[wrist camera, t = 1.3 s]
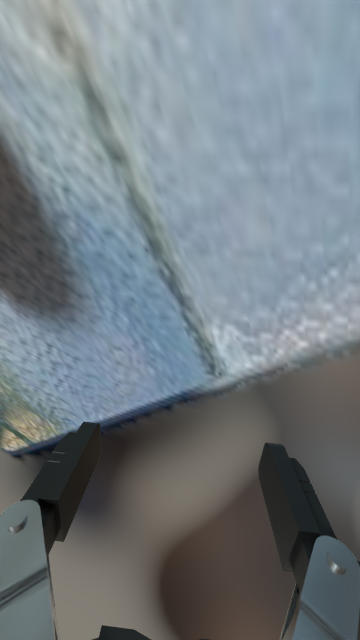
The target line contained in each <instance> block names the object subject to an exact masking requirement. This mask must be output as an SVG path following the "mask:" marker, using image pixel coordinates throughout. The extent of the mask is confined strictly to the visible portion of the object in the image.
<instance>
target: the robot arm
mask: <svg viewBox="0 0 360 640" xmlns="http://www.w3.org/2000/svg"><path fill="white" fill-rule="evenodd" d="M100 452H101V430H100V424H99V423H91V422H83V423H82V425H81V426H80V428H79V430H78V431H77V433H72V432H70V433H68V434H67V435H66V436H65V437H64V438H62V439H61V440H60V441H59V443H58V444H57V446H56V447H55V449H54V451H53V453H52V454H51V455H50V457H49V458H48V460H47V462H46V463H45V464H44V466H43V467H42V469H41V471H40V472H39V474H38V475H37V477H36V478H35V480H34V482H33V483H32V484H31V486H30V487H29V489H28V491H27V492H26V494H25V495H24V496H23V498H22V499H21V500H20V502H17V503H15V504H13V505H11V506H10V507H9V508H7V509H6V510H5V511H4V512H3V513H2V514H1V515H0V640H60V639H59V632H58V625H57V618H56V611H55V603H54V595H53V587H52V580H51V571H50V563H49V552H50V550H51V548H52V546H53V544H54V541H62V542H63V541H64V540H65V538H66V535H67V533H68V530H69V528H70V526H71V523H72V521H73V519H74V516H75V514H76V512H77V509H78V507H79V505H80V502H81V500H82V498H83V495H84V493H85V490H86V488H87V486H88V483H89V481H90V479H91V476H92V474H93V472H94V469H95V467H96V464H97V462H98V460H99V456H100ZM259 480H260V484H261V488H262V492H263V496H264V500H265V503H266V507H267V511H268V515H269V519H270V522H271V526H272V530H273V534H274V537H275V541H276V545H277V549H278V553H279V557H280V561H281V564H282V568H283V570H284V571H291V572H294V576H295V579H296V585H295V588H294V591H293V595H292V598H291V602H290V605H289V609H288V612H287V616H286V619H285V623H284V626H283V629H282V633H281V636H280V640H360V562H359V561H357V560H356V558H355V557H354V555H353V554H352V552H351V551H349V549H348V548H347V547H346V546H345V545H344V544H342V543H341V542H340V541H338V540H337V538H336V536H335V534H334V532H333V530H332V528H331V526H330V523H329V521H328V519H327V517H326V515H325V513H324V511H323V508H322V506H321V504H320V502H319V500H318V498H317V495H316V494H315V491H314V489H313V487H312V485H311V484H310V481H309V478H308V476H307V474H306V472H305V470H304V468H303V467H302V466H301V465H300V464H299V462H298V461H297V460H296V459H295V458H289V457H288V454H287V452H286V450H285V447H284V446H283V445H281V444H273V443H265V445H264V449H263V452H262V456H261V460H260V463H259ZM92 640H151V639H149V638H147V637H146V636H144V635H142V634H141V633H139V632H137V631H136V630H133V629H124V628H118V627H109V626H102V627H101V631H100V636H99V638H96V639H92ZM200 640H207V639H200Z"/></svg>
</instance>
